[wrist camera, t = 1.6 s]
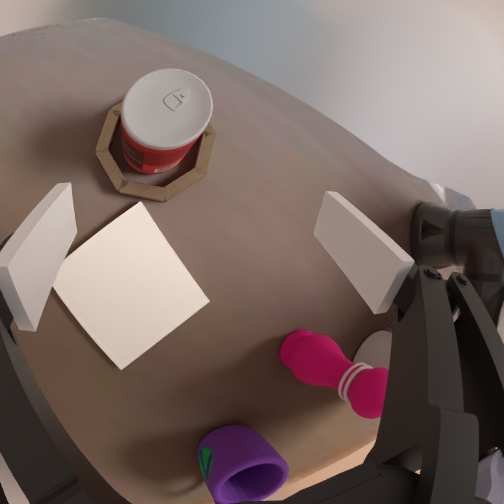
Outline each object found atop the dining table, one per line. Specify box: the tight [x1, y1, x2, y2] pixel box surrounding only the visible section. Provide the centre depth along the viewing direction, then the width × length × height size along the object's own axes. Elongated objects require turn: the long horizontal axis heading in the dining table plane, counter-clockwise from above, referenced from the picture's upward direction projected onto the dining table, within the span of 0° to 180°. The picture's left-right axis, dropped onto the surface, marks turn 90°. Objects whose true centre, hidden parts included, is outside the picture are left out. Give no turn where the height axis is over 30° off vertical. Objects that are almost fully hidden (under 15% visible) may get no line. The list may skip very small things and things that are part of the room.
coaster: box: [53, 201, 210, 370], centre depth 28 cm, size 14×14×1 cm
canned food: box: [121, 68, 213, 174], centre depth 24 cm, size 8×8×11 cm
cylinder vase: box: [353, 331, 392, 369], centre depth 36 cm, size 12×12×25 cm
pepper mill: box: [280, 329, 389, 419], centre depth 30 cm, size 7×7×20 cm
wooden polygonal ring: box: [95, 101, 215, 202], centre depth 28 cm, size 13×13×2 cm
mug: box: [197, 425, 289, 504], centre depth 31 cm, size 17×11×10 cm, turn 159°
